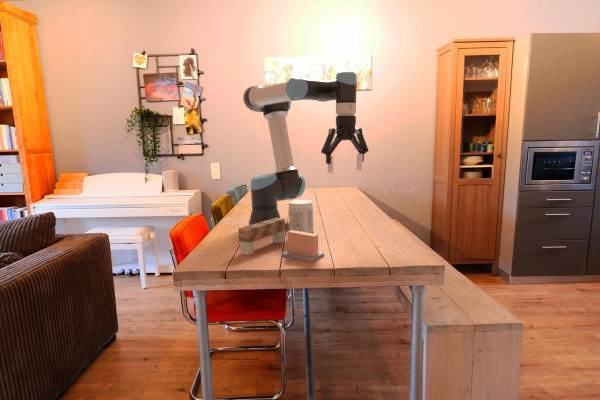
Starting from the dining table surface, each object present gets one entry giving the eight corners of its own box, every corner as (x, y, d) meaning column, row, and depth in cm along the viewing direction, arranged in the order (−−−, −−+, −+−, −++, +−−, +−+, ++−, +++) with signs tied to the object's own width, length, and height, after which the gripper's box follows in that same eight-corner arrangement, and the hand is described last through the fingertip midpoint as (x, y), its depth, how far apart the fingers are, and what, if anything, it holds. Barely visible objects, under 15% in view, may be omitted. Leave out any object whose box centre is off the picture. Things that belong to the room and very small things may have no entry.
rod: (248, 243, 122) (247, 230, 122) (239, 241, 125) (238, 228, 124) (285, 230, 138) (284, 218, 137) (276, 228, 141) (276, 217, 140)
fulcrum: (281, 255, 122) (281, 233, 121) (296, 249, 128) (295, 228, 127) (310, 262, 115) (310, 238, 114) (324, 255, 121) (323, 232, 120)
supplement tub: (306, 233, 150) (306, 198, 148) (317, 238, 142) (317, 202, 139) (285, 236, 146) (284, 200, 144) (295, 242, 138) (294, 204, 135)
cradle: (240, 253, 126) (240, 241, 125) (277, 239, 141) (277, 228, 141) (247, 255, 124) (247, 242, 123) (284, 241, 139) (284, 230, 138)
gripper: (322, 114, 126) (322, 174, 130) (378, 115, 137) (376, 170, 141) (312, 115, 133) (312, 172, 137) (366, 116, 144) (365, 168, 148)
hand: (345, 171), depth 139 cm, fingers open, 13 cm apart
